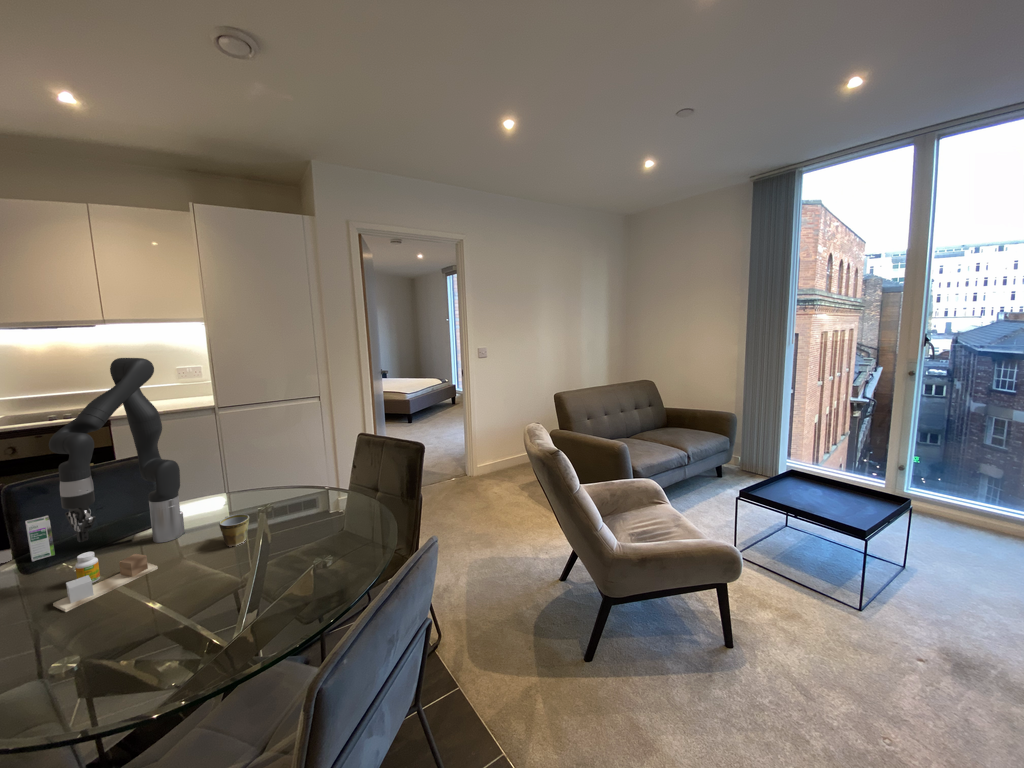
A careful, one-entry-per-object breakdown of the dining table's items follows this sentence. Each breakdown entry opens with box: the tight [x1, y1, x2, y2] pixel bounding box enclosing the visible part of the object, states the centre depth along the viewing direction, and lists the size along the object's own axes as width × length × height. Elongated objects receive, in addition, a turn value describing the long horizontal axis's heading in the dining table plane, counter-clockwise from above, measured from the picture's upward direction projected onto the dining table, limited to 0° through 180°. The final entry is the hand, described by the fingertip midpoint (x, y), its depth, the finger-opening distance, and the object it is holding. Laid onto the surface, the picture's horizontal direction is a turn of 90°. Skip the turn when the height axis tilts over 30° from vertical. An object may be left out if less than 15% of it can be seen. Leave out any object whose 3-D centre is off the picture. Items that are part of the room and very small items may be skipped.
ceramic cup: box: [218, 513, 250, 548], centre depth 163 cm, size 13×10×10 cm
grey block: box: [65, 575, 94, 603], centre depth 128 cm, size 5×5×5 cm
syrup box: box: [24, 515, 56, 562], centre depth 150 cm, size 6×6×14 cm
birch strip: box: [52, 562, 158, 613], centre depth 135 cm, size 24×7×1 cm, turn 160°
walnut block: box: [118, 553, 148, 577], centre depth 141 cm, size 5×5×5 cm
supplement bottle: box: [74, 551, 101, 584], centre depth 136 cm, size 5×5×10 cm
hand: (83, 540), depth 135 cm, fingers closed
